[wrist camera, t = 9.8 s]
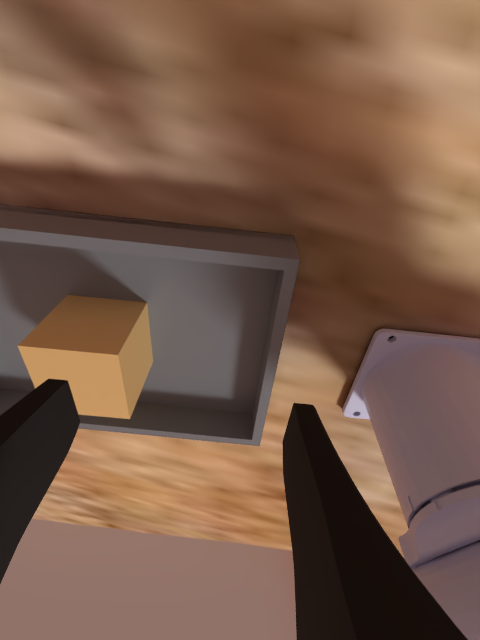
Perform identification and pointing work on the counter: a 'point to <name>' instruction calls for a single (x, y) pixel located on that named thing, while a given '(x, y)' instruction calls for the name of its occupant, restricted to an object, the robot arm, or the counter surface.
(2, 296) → the charcoal tray
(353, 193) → the counter surface
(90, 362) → the ochre block
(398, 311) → the counter surface
